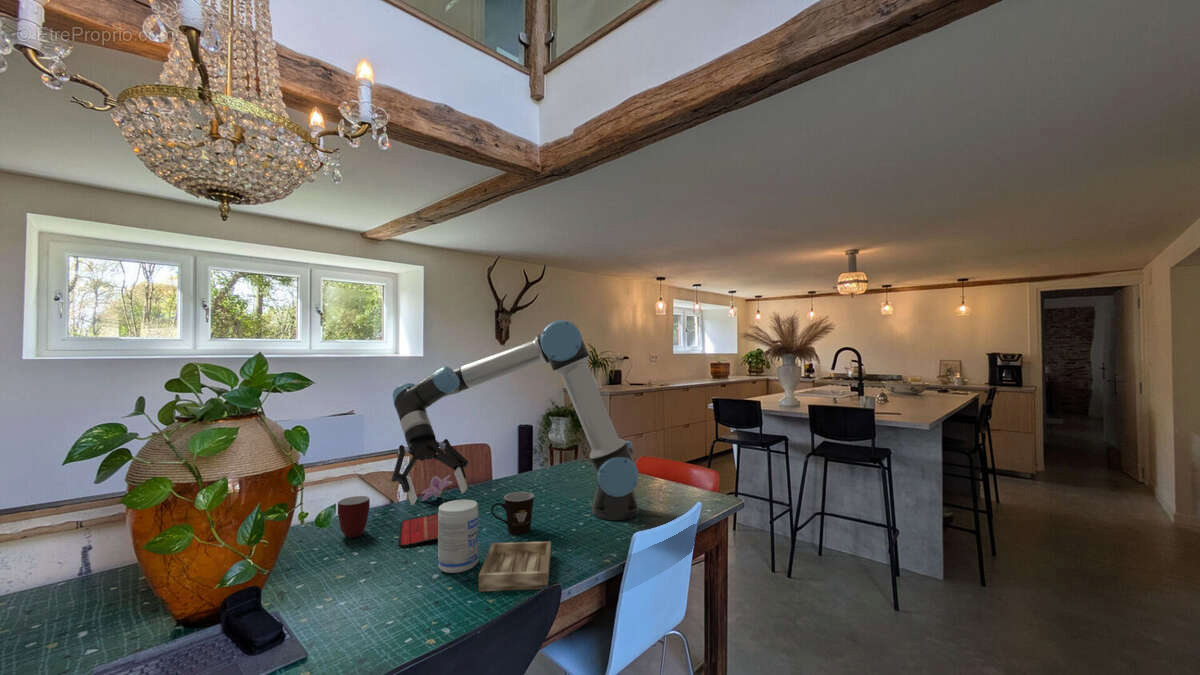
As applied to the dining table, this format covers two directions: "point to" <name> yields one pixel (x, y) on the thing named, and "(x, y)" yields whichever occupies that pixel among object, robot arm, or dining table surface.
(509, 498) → the coffee mug
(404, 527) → the red book
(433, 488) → the lily
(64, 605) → the dining table surface
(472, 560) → the supplement tub
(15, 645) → the dining table surface
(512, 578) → the slatted wooden tray
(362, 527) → the mug
